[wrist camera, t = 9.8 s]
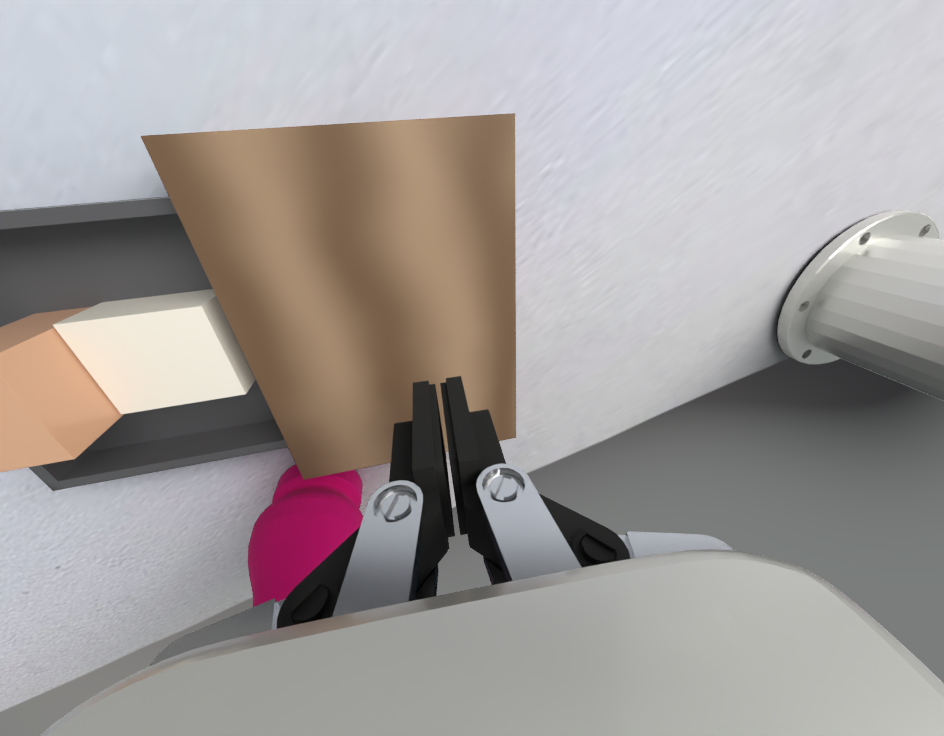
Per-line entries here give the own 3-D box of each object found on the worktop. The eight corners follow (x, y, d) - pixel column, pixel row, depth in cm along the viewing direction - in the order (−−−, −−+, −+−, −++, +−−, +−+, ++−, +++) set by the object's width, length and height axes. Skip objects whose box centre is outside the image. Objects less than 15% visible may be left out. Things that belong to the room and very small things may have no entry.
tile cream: (227, 287, 18) (201, 305, 16) (263, 367, 21) (246, 394, 18) (101, 302, 17) (52, 324, 15) (155, 383, 20) (120, 414, 17)
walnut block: (490, 124, 17) (514, 113, 14) (500, 403, 27) (515, 437, 23) (195, 143, 16) (140, 136, 12) (315, 437, 25) (303, 479, 21)
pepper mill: (368, 450, 26) (326, 952, 9) (369, 512, 30) (340, 961, 13) (264, 454, 25) (-15, 1079, 8) (278, 519, 28) (106, 1050, 11)
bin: (208, 193, 16) (175, 197, 14) (302, 417, 24) (291, 446, 21) (-116, 220, 15) (-222, 230, 12) (92, 453, 22) (53, 490, 19)
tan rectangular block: (-18, 360, 12) (-118, 374, 12) (74, 459, 15) (-6, 473, 14) (101, 305, 17) (34, 313, 17) (155, 385, 20) (97, 394, 20)
